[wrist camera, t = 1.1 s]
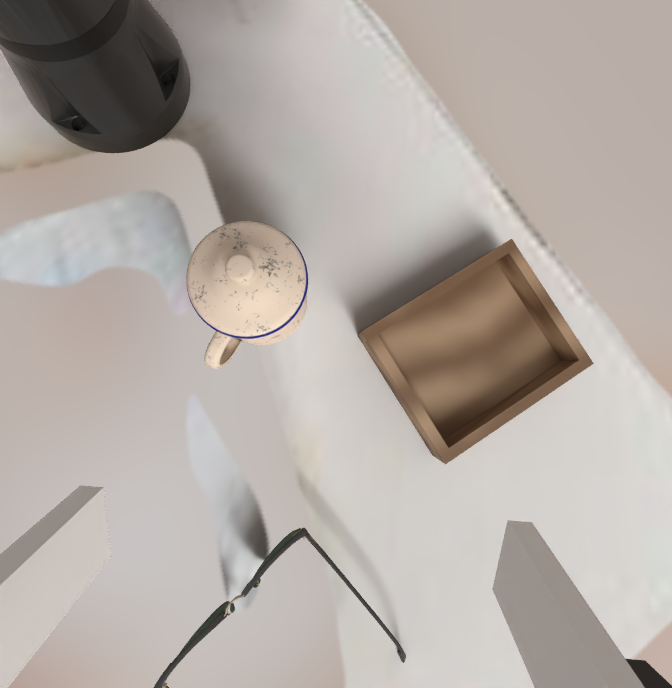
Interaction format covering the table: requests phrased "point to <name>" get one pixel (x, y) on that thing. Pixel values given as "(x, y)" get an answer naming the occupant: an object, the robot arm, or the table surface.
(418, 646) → the table surface
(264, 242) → the teacup with lid
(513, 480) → the table surface
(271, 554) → the black eyeglasses
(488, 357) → the walnut tray
